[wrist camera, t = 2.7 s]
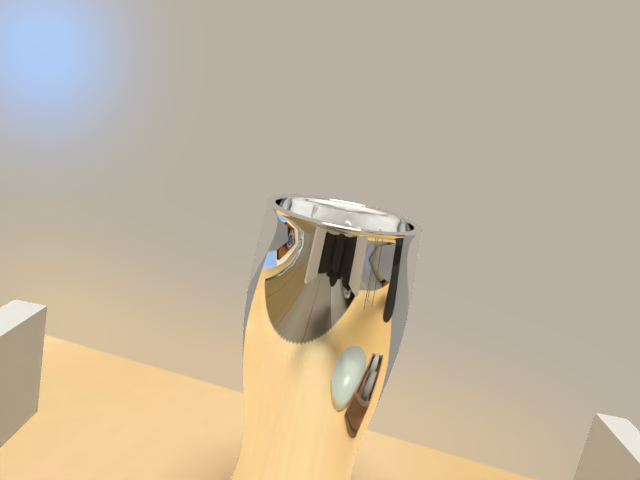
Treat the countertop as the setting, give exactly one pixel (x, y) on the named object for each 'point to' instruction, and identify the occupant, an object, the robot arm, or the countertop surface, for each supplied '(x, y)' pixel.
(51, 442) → the countertop surface
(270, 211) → the beer glass
